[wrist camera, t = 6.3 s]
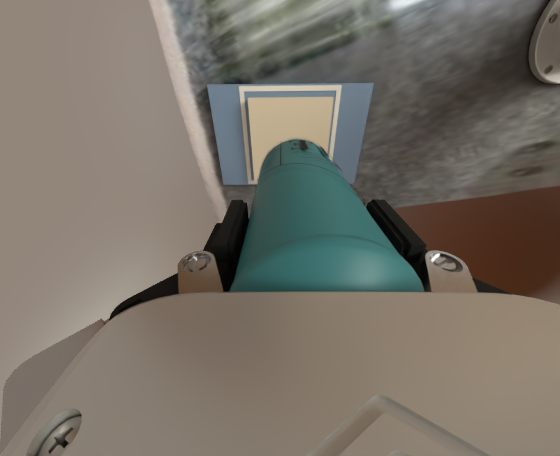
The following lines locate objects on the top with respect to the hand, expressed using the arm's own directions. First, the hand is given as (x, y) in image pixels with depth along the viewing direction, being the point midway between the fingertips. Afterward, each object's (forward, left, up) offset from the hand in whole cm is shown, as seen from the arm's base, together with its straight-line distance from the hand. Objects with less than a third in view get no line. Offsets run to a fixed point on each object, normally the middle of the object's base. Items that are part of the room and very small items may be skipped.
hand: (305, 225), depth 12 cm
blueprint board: (0, 0, -25) cm, 25 cm away
